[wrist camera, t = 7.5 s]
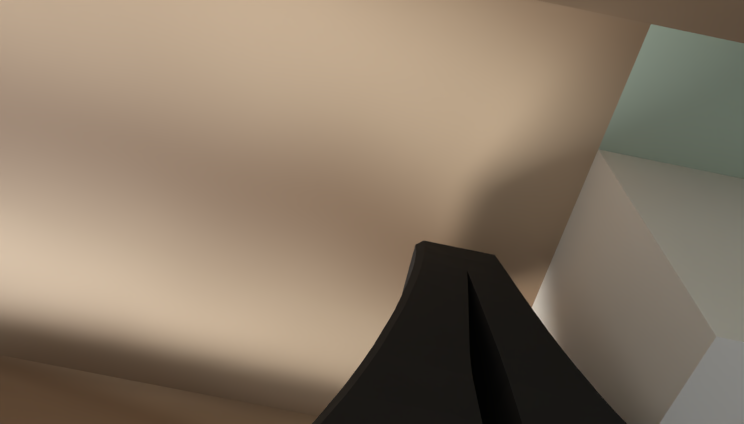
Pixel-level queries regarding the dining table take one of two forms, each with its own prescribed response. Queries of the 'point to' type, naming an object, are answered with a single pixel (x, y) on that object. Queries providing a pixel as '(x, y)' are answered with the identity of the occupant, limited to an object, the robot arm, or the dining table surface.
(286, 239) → the tray
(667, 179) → the block
